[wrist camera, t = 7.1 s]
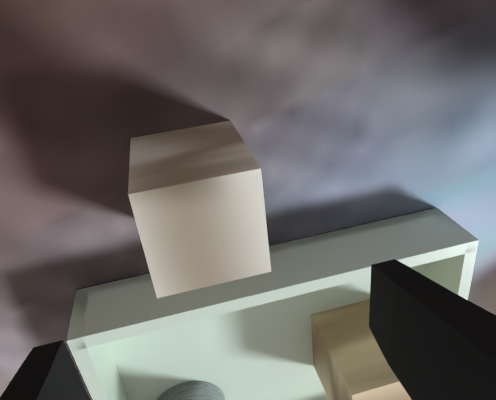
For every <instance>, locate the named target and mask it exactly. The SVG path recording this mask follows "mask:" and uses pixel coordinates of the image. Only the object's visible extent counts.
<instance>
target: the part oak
mask: <svg viewBox="0 0 496 400" xmlns="http://www.w3.org/2000/svg"><path fill="white" fill-rule="evenodd" d="M369 310H370V299H368V300H365V301H361V302H357V303H353V304H349V305H345V306H341V307H337V308H334V309H330V310H326V311H322V312H318V313H314V314H311V328H312V347H313V366H314V368H315V370H316V372H317V375H318V377H319V379H320V381H321V384H322V386H323V388H324V390H325V392H326V395H327V397H328V399H329V400H412V399H411V398H410V396H409V395H408V393H407V392H406V390H405V389H404V387H403V386H402V384H401V383H400V381H399V380H398V378H397V377H396V375H395V374H394V372H393V371H392V369H391V368H390V366H389V365H388V363H387V361H386V359H385V357H384V355H383V354H382V352H381V350H380V348H379V346H378V344H377V342H376V340H375V338H374V336H373V334H372V332H371V330H370V328H369Z"/></svg>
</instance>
